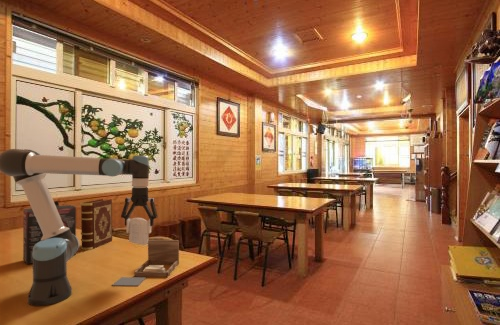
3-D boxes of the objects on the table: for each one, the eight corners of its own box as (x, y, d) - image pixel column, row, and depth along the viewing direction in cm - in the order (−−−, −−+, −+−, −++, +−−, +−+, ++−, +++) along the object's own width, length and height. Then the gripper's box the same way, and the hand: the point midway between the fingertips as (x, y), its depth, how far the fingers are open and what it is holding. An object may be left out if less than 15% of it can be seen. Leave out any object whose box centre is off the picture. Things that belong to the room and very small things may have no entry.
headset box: (70, 250, 188) (70, 198, 187) (77, 255, 179) (76, 200, 179) (22, 260, 170) (22, 202, 170) (26, 265, 161) (26, 205, 161)
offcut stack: (161, 276, 144) (161, 269, 144) (141, 276, 145) (141, 269, 145) (165, 271, 151) (165, 264, 151) (146, 271, 151) (146, 264, 151)
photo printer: (149, 243, 144) (150, 218, 144) (143, 245, 140) (143, 219, 140) (134, 240, 149) (135, 216, 149) (127, 242, 145) (128, 217, 145)
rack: (168, 277, 144) (167, 250, 144) (134, 276, 144) (134, 250, 144) (178, 263, 163) (178, 240, 162) (149, 263, 163) (148, 240, 163)
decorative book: (89, 250, 188) (89, 203, 188) (78, 249, 190) (78, 203, 189) (112, 240, 210) (112, 199, 210) (102, 240, 212) (102, 198, 211)
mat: (137, 286, 134) (137, 285, 134) (112, 285, 134) (112, 284, 134) (145, 278, 143) (145, 277, 143) (121, 277, 143) (121, 277, 143)
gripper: (165, 186, 148) (164, 231, 148) (120, 185, 148) (119, 230, 148) (160, 188, 141) (159, 234, 140) (113, 187, 141) (112, 233, 141)
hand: (139, 232), depth 144 cm, fingers closed on photo printer, 10 cm apart
